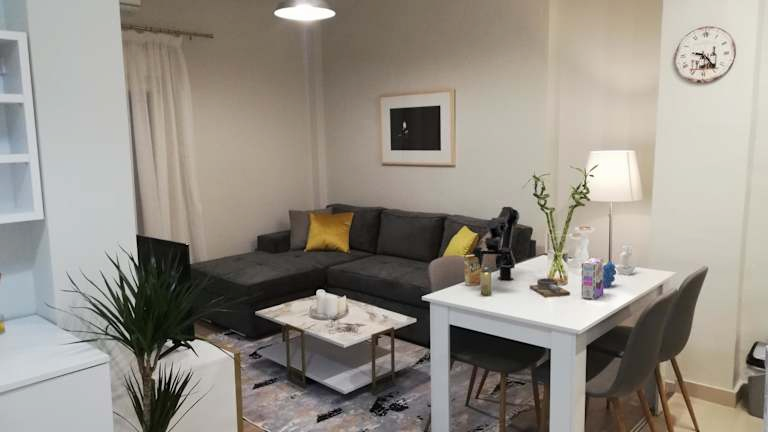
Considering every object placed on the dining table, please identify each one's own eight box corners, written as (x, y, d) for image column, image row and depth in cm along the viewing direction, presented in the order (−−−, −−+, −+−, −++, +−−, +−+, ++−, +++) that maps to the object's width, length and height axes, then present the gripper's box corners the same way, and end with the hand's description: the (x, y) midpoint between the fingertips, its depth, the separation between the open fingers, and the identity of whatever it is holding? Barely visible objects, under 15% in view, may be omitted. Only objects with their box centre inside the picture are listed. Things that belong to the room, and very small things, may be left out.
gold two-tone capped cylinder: (479, 294, 275) (478, 267, 273) (489, 293, 275) (489, 266, 274) (482, 296, 270) (482, 269, 269) (492, 295, 271) (492, 268, 269)
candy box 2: (594, 300, 256) (594, 263, 254) (581, 298, 259) (581, 262, 258) (603, 293, 267) (604, 258, 265) (591, 292, 270) (591, 257, 269)
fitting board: (529, 288, 282) (529, 278, 281) (553, 286, 283) (553, 276, 283) (545, 297, 264) (545, 286, 264) (569, 295, 266) (569, 284, 265)
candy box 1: (468, 286, 291) (467, 256, 290) (464, 284, 295) (463, 255, 294) (484, 284, 294) (483, 254, 292) (480, 282, 298) (479, 253, 296)
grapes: (606, 283, 286) (606, 259, 285) (619, 285, 281) (619, 261, 279) (593, 287, 279) (593, 262, 278) (606, 289, 274) (606, 264, 272)
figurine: (614, 274, 304) (614, 246, 303) (623, 271, 310) (623, 244, 309) (627, 276, 299) (627, 247, 297) (636, 273, 305) (636, 245, 303)
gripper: (473, 230, 284) (466, 256, 275) (511, 231, 275) (505, 258, 267) (478, 243, 292) (472, 269, 283) (515, 245, 283) (509, 271, 275)
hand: (489, 267), depth 277 cm, fingers open, 9 cm apart
